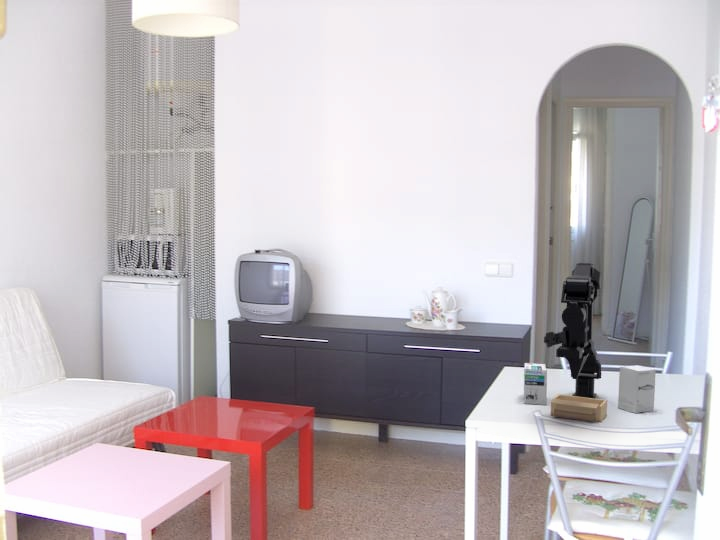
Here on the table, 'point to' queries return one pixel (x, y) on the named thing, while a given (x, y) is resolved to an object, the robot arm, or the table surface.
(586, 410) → the flap
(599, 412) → the carton
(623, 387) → the supplement box
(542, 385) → the light bulb box
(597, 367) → the robot arm
